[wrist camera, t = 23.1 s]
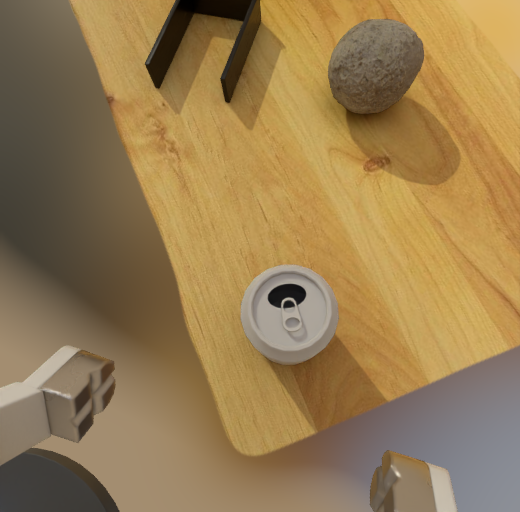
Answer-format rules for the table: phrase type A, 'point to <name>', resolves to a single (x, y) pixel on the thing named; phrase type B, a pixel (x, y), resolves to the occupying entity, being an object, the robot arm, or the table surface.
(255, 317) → the can
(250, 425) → the table surface
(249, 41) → the frame
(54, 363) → the robot arm
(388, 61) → the decorative stone
